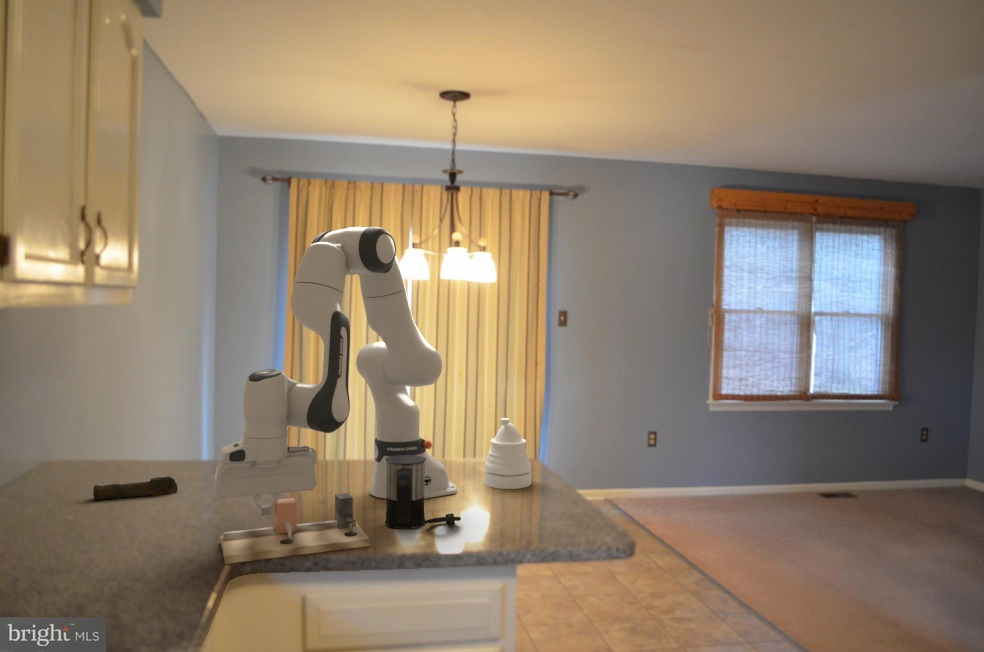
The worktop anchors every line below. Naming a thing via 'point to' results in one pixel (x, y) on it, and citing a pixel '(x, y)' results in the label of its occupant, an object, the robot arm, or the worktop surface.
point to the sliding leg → (285, 516)
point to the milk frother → (408, 493)
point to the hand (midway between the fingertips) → (265, 514)
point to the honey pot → (507, 459)
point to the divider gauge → (297, 537)
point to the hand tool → (136, 488)
